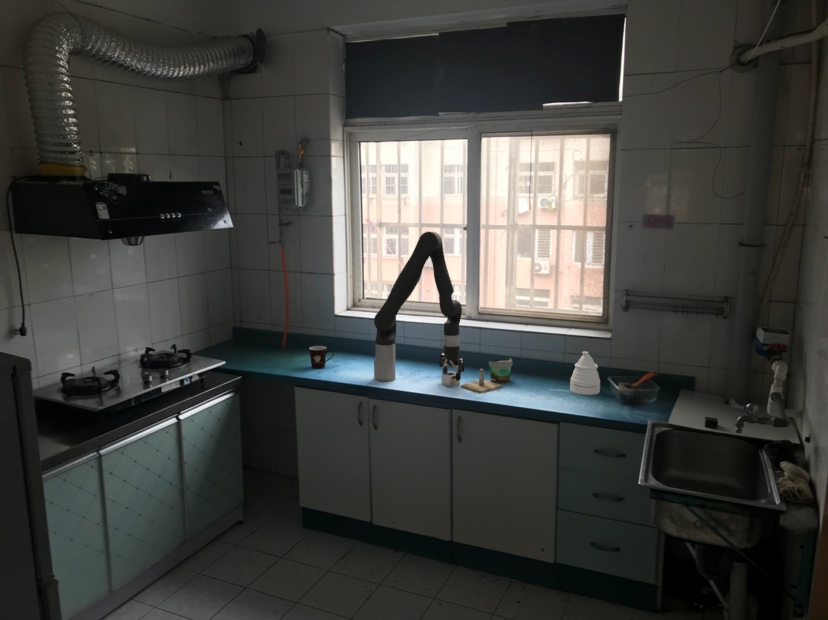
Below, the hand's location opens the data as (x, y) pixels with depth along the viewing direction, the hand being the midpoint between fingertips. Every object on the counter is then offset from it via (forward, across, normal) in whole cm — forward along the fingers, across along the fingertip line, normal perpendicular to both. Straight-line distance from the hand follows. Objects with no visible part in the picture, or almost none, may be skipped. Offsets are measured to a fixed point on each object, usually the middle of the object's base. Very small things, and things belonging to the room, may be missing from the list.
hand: (451, 378), depth 297 cm
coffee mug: (+2, -62, -32) cm, 70 cm away
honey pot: (+4, +44, +40) cm, 60 cm away
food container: (+3, +12, +21) cm, 25 cm away
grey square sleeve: (+3, 0, -1) cm, 3 cm away
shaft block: (+3, +12, +7) cm, 14 cm away
